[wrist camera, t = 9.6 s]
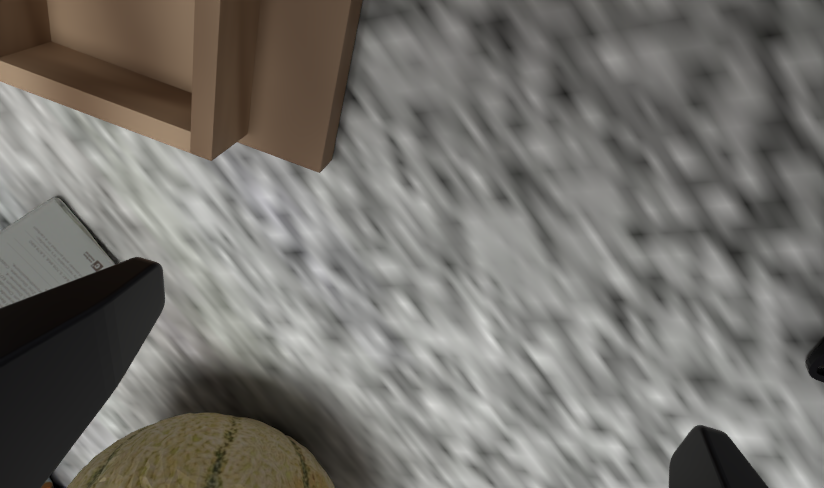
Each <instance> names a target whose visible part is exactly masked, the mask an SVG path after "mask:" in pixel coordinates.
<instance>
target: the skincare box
mask: <svg viewBox="0 0 824 488" xmlns="http://www.w3.org/2000/svg"><path fill="white" fill-rule="evenodd" d="M113 265H115V263H114V262H113V261H112V260H111V259H110V258H109V257H108V255H107V254H106V253H105V252H104V250H103V249H102V248H101V247H100V246H99V244H98V243H97V242H96V240H95V239H94V238H93V237H92V235H91V234H90V233H89V232H88V230H87V229H86V228H85V227H84V226H83V224H82V223H81V222H80V221H79V220H78V218H77V217H76V216H75V215H74V214H73V213H72V212H71V211H70V209H69V208H68V207H67V206H66V205H65V204H64V202H63V201H62V200H61V199H59V198H55V197H53V198H52V199H50V200H48V201H47V202H45V203H43V204H42V205H40V206H39V207H37V208H36V209H34V210H33V211H31V212H30V213H28V214H27V215H25V216H23V217H22V218H20V219H19V220H17V221H16V222H14V223H13V224H11V225H10V226H8V227H6V228H5V229H3V230H2V231H0V308H2V307H4V306H7V305H10V304H12V303H15V302H18V301H20V300H23V299H26V298H28V297H31V296H33V295H36V294H39V293H41V292H44V291H47V290H49V289H52V288H55V287H57V286H60V285H63V284H65V283H68V282H70V281H73V280H76V279H78V278H81V277H84V276H86V275H89V274H92V273H94V272H97V271H99V270H102V269H105V268H107V267H110V266H113Z"/></svg>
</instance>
